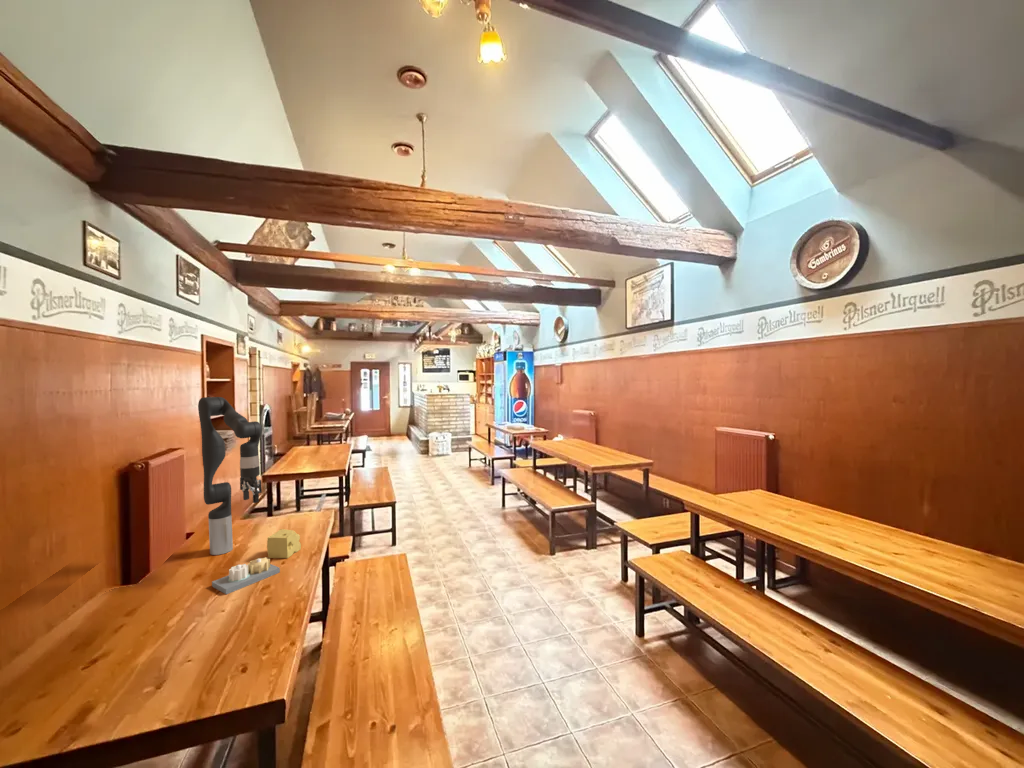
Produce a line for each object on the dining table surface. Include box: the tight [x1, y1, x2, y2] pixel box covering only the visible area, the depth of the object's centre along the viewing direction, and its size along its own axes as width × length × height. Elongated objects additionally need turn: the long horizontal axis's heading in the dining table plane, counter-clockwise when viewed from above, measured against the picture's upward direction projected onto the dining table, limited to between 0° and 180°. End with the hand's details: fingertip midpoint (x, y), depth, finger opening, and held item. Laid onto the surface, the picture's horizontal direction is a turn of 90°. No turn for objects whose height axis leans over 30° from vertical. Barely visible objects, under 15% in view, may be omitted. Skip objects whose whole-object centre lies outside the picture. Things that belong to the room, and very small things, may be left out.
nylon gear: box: [228, 563, 249, 581], centre depth 175 cm, size 6×6×4 cm
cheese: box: [266, 528, 302, 559], centre depth 202 cm, size 10×11×10 cm
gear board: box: [211, 556, 281, 595], centre depth 177 cm, size 12×21×7 cm, turn 148°
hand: (251, 501), depth 193 cm, fingers open, 8 cm apart
